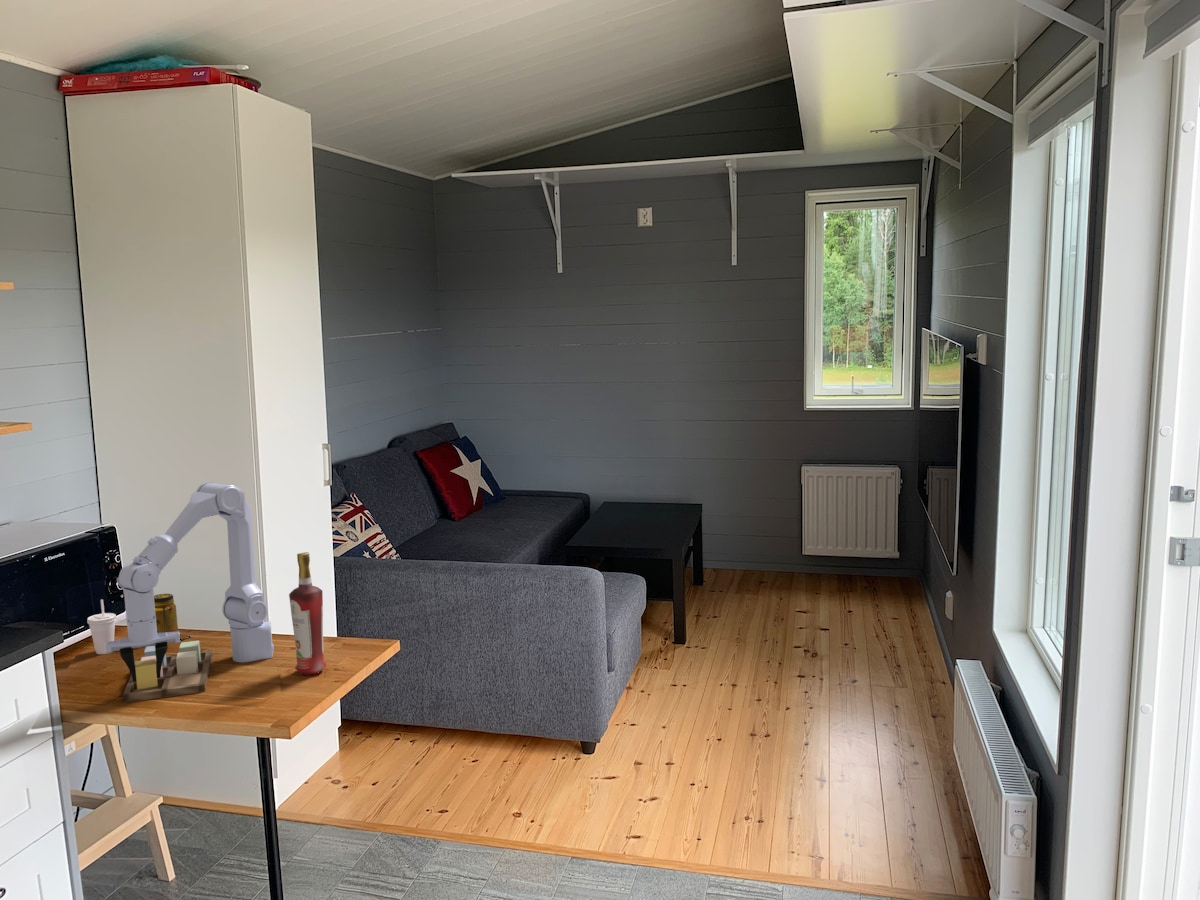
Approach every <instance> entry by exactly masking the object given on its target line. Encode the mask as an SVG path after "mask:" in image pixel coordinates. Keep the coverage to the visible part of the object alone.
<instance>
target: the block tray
mask: <svg viewBox="0 0 1200 900" xmlns="http://www.w3.org/2000/svg"><path fill="white" fill-rule="evenodd" d="M177 654H178V653H177ZM177 654H171V655H166V662H167V666H162V669H163V677H160V678H157V683H158V686H156V687H150V688H144V689H138V690H137V682H133V678H132V675H131V674H130V677H129V680H128V682H127V684H126V686H125V689H124V691H123V694H122V703H128V702H138V701H143V700H144V701H145V700H151V699H152V700H153V699H160V698H166V697H167V698H168V697H175V696H182V695H183V696H184V695H189V694H196V693H197V694H198V693H203V692H206V688H207V684H208V678H209V675H210V669H211V664H212V658H213V650H212V649H210V650H203V651H201V650H200V655H201V662H198V672H197V673H190V674H182V675H177V663H176V657H177ZM137 661H141V658H138V659H137Z"/></svg>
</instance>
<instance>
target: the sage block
mask: <svg viewBox="0 0 1200 900" xmlns="http://www.w3.org/2000/svg"><path fill="white" fill-rule="evenodd" d="M200 645H201V643H200V640H192V641H183V642H180V645H179V653H180V652H189V651H197V660H198V662H201V655H200V652H201V646H200Z"/></svg>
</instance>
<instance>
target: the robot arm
mask: <svg viewBox="0 0 1200 900" xmlns="http://www.w3.org/2000/svg"><path fill="white" fill-rule="evenodd" d="M245 494H246V493H245V491H244V490H242V489H241V488H239V487H238V486H236V485H233V484H220V483H213V482H210V481H209V482H208V481H207V482H204V483H201V484H200V485H199V486H198V487H197V489H196V490H195V491H194V492H193V493H191V495H190V497H189V500H188V501H189V502H188V503H187V504H186V506H185V507H184V509H182V511H181V512H180V513H179V515H178V516H177V517H176V518H175V520H174V521H173V522H172V524H171V525H170V526H169V527H168V529H167V531H166V532H165V533H164V534H160V535H159V534H158V535H156V536H154V537H153V538H152V537H151V538H149V540H148V541H147V543H148V544H147V545H146V546H145V547H144V549H143V550H141V552H140V553H139V555H138V556H135V557H133V559H132V560H133V562H131V563H127V564H126V565H124V566H123V567H122V568H121V569H120V571H119V575H118V577H117V578H116V583H117V584H118V586H119V587H120V588H121V589H122V590H123V591H122V592H123V596H124V605H125V606H124V607H125V615H126V616H125V618H126V628H127V636H128V637H124V638H119V639H116V640H115V639H114V641H110V642H106V653H107V654H111V653H113V652H118V651H119V652H120V654H119V655H120V657H121V659H122V660H123V661H124V663H125V665H126V666H127V669H128V671H129V673H130V676H131V675H132V678H133V682H137V680H136V669H135V656H134V654H135V651H134V649H137V648H143V647H144V648H146V647H148V646H155V653H156V673H157V678H160V672H161V666H162V662H163V659H164V656H165V654H166V653H167V650H168V644H170V643H175V644H176V643H181V640H180V634H181V633H180V631H179V630H178V631H177V632H165V633H157V624H156V614H155V603H154V596H155V594H154V593H155V592H154V588H155V587H156V586H157V585H158V582H159V576H160V574H161V572H162V571H163V570H164V568H165V567H166V565H168V564H169V562H170V561H171V560H172V559H173V558H174V556H175V555H176V554H177V553H178V551H179V550H178V549H179V548H178V547H179V546H178V543H180V542H181V541H182V540H183V538H185V536H187V534H189V532H190V531H192V530H193V529H194V527H195V526H196V525H198V523H200V521H201V520H202V519H204V518H209V517H213V516H220V517H221V518H223V520H225V521H226V524H227V525H226V526H227V540H228V541H227V542H228V543H227V544H228V558H229V577H230V578H229V579H230V582H229V583H230V586H229V587H227V589H226V591H225V592H224V601H223V604H222V610H221V611H222V615H223V617H224V618H226V619H227V620H228V624H229V628H230V644H231V655H232V661H234V662H237V663H248V662H254V661H260V660H267V659H268V660H269V659H273V655H274V652H275V646H274V645H275V644H274V643H273V633H272V624H271V623H272V622H271V621H265V620H266V618H267V616H268V605H267V602H265V597H264V592H263V591H262V590H261V589H260V587H258V585H257V583H256V578H255V577H256V576H255V575H256V574H255V572H256V571H255V555H254V554H255V553H254V539H253V538H254V536H253V517H252V509H251V508H250V506H249V504H248V502H247V501H246V495H245ZM112 651H113V652H112ZM166 655H167V654H166Z"/></svg>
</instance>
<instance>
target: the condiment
mask: <svg viewBox="0 0 1200 900" xmlns="http://www.w3.org/2000/svg"><path fill="white" fill-rule="evenodd" d="M154 603H155V614H156V624H157V633H165V632H177V631H179V625H178V616H177V615H178V613H177V606H176V604H175V600H174V595H173V594H171V593H160V594H154ZM189 636H190V637H185V638H184V639H181V640H180V641H182V640H186V639H188V638H191V637H192V635H189Z"/></svg>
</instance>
